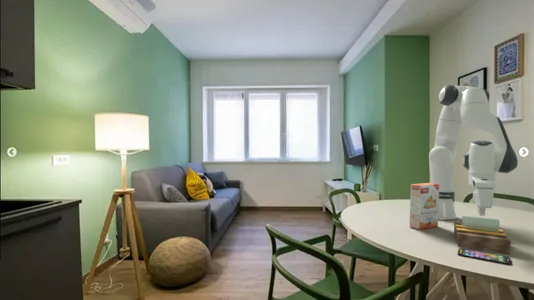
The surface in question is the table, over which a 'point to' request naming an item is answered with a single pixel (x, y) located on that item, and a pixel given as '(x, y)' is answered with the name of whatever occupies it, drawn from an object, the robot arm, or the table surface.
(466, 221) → the panel
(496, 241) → the rack
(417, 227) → the cracker box
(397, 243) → the table surface
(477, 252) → the smartphone
